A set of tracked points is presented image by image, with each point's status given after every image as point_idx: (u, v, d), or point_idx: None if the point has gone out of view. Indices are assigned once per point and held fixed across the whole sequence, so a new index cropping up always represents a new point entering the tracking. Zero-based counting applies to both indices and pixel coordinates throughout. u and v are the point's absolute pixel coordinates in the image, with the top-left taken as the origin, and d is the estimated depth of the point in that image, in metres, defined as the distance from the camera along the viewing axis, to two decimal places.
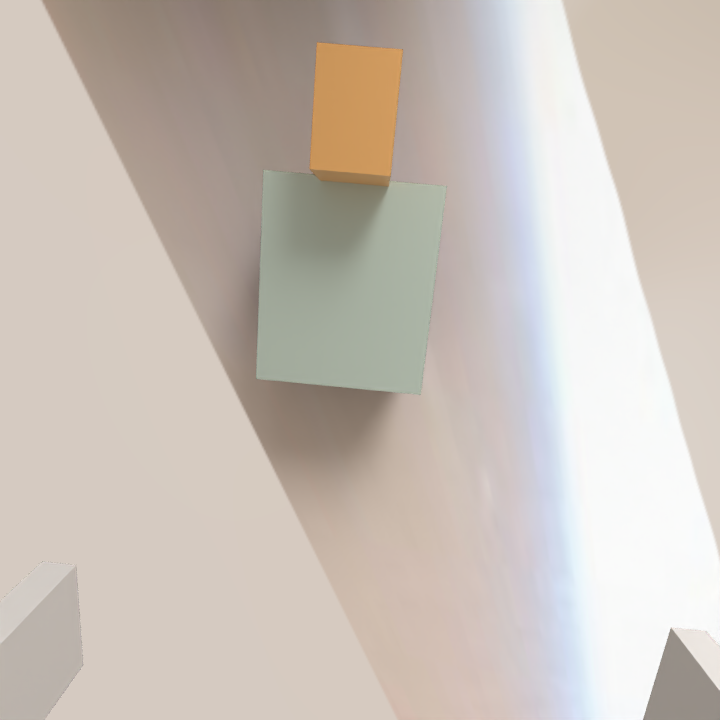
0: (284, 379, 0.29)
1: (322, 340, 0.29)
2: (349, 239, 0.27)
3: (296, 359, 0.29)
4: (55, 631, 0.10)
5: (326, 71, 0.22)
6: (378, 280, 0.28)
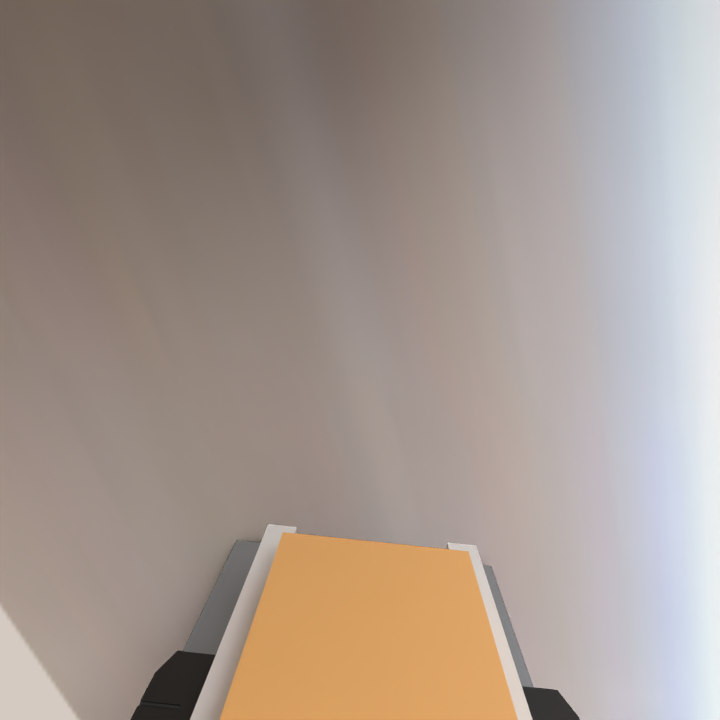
0: None
1: None
2: None
3: None
4: None
5: None
6: None
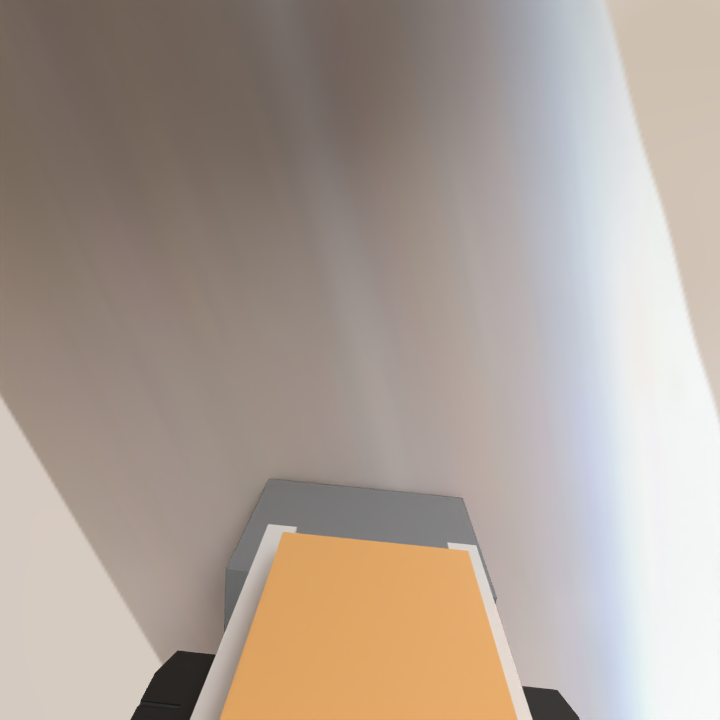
0: None
1: None
2: None
3: None
4: None
5: None
6: None
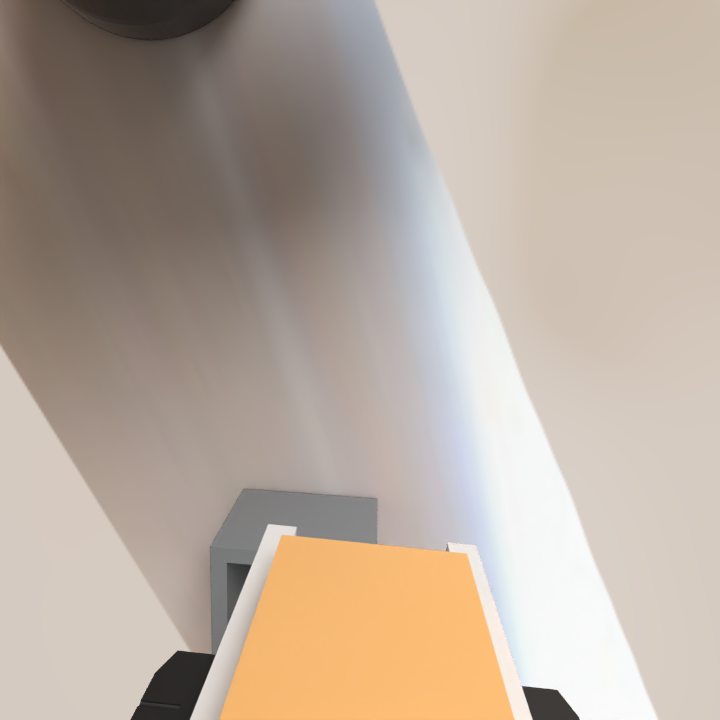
0: None
1: None
2: None
3: None
4: None
5: None
6: None
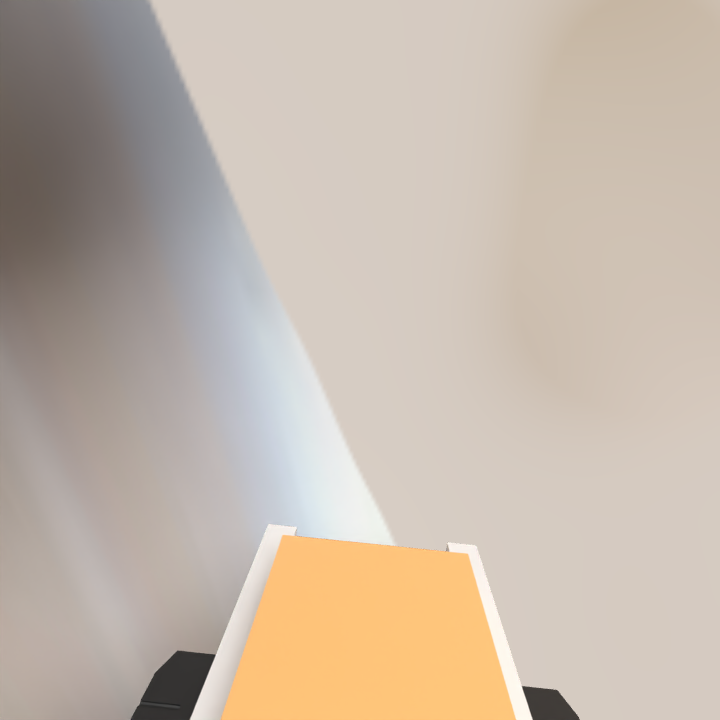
0: None
1: None
2: None
3: None
4: None
5: None
6: None
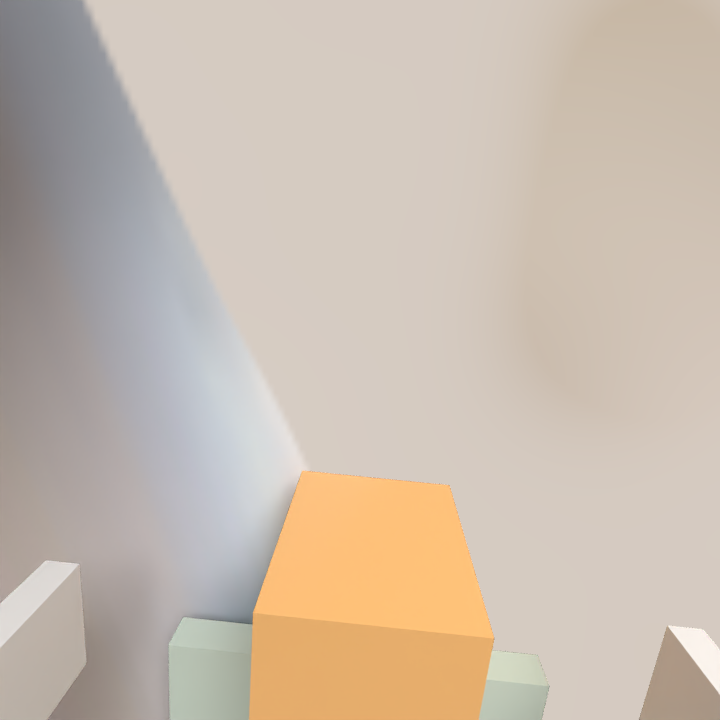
0: None
1: None
2: None
3: None
4: (59, 630, 0.10)
5: (282, 671, 0.08)
6: None
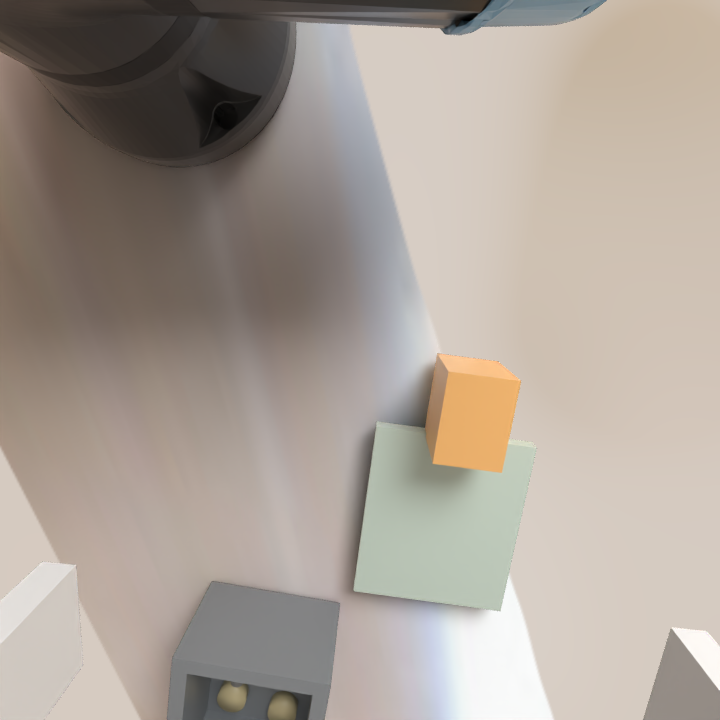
0: (379, 592, 0.33)
1: (416, 563, 0.32)
2: (447, 484, 0.31)
3: (391, 577, 0.33)
4: (55, 631, 0.10)
5: (454, 392, 0.25)
6: (470, 518, 0.31)
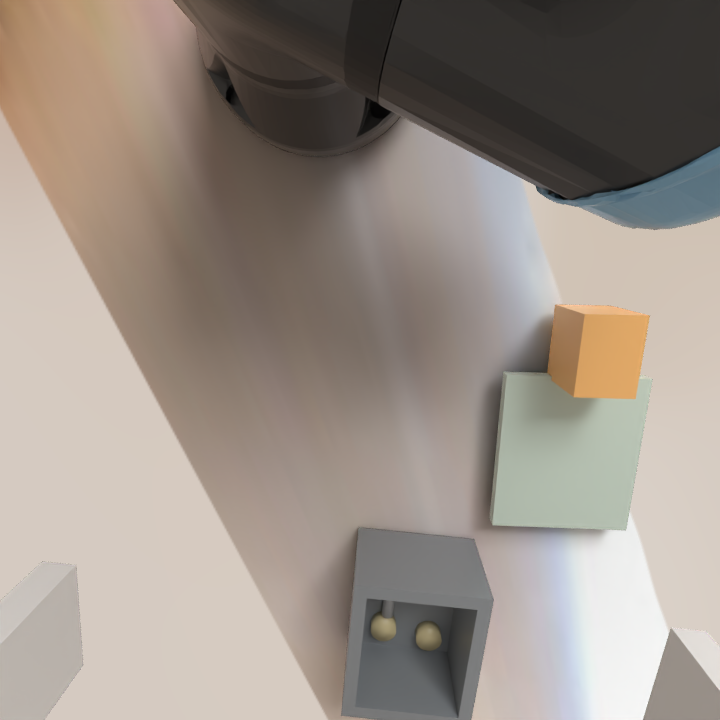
0: (515, 524, 0.37)
1: (547, 494, 0.36)
2: (573, 420, 0.35)
3: (526, 509, 0.37)
4: (55, 631, 0.10)
5: (590, 332, 0.29)
6: (595, 448, 0.35)
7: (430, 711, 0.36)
